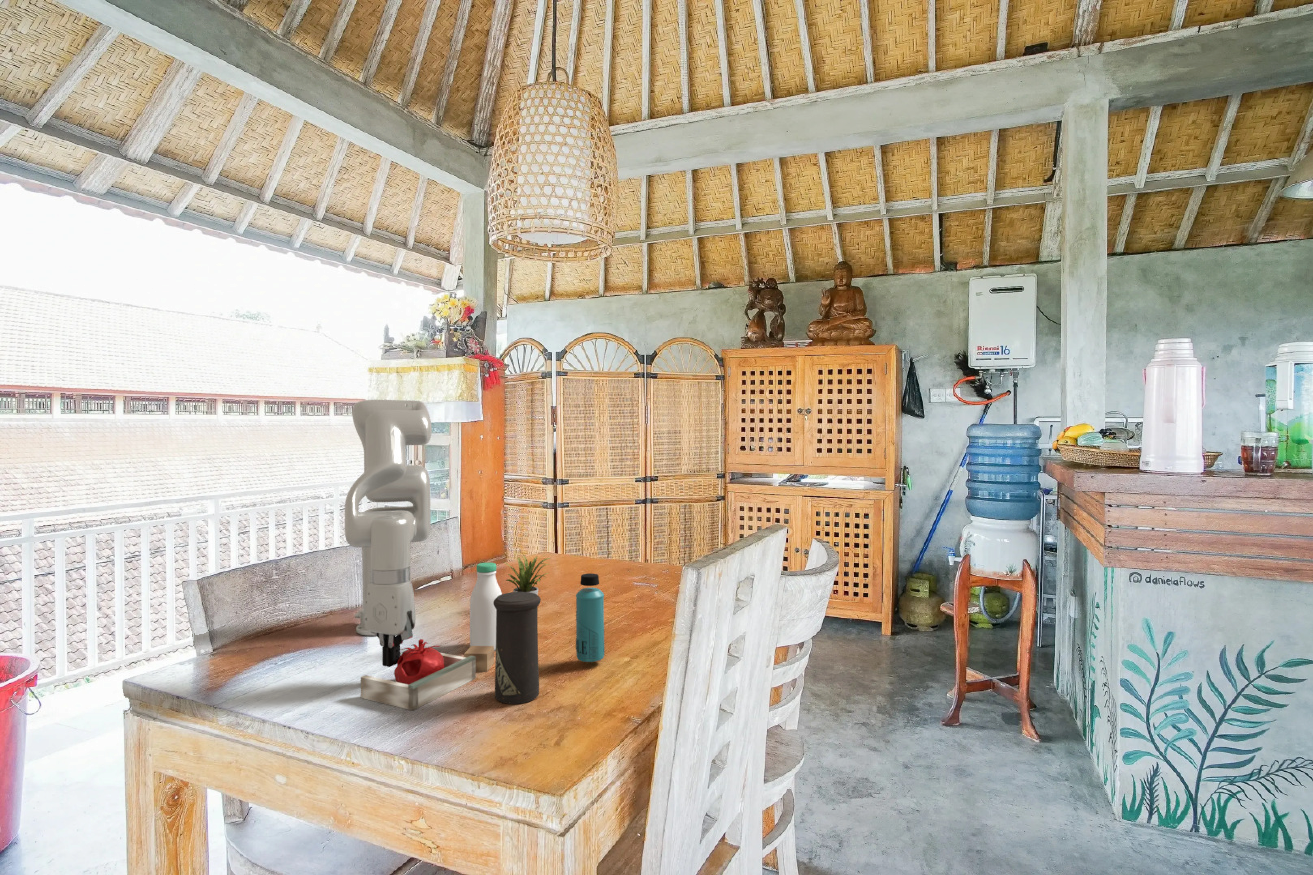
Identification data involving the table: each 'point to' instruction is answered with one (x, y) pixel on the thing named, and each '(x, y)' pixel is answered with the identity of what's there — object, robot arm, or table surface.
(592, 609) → the beverage bottle
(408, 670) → the pomegranate
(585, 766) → the table surface
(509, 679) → the container
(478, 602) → the milk bottle
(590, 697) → the table surface
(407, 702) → the display stand
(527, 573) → the house plant
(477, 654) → the teak block
